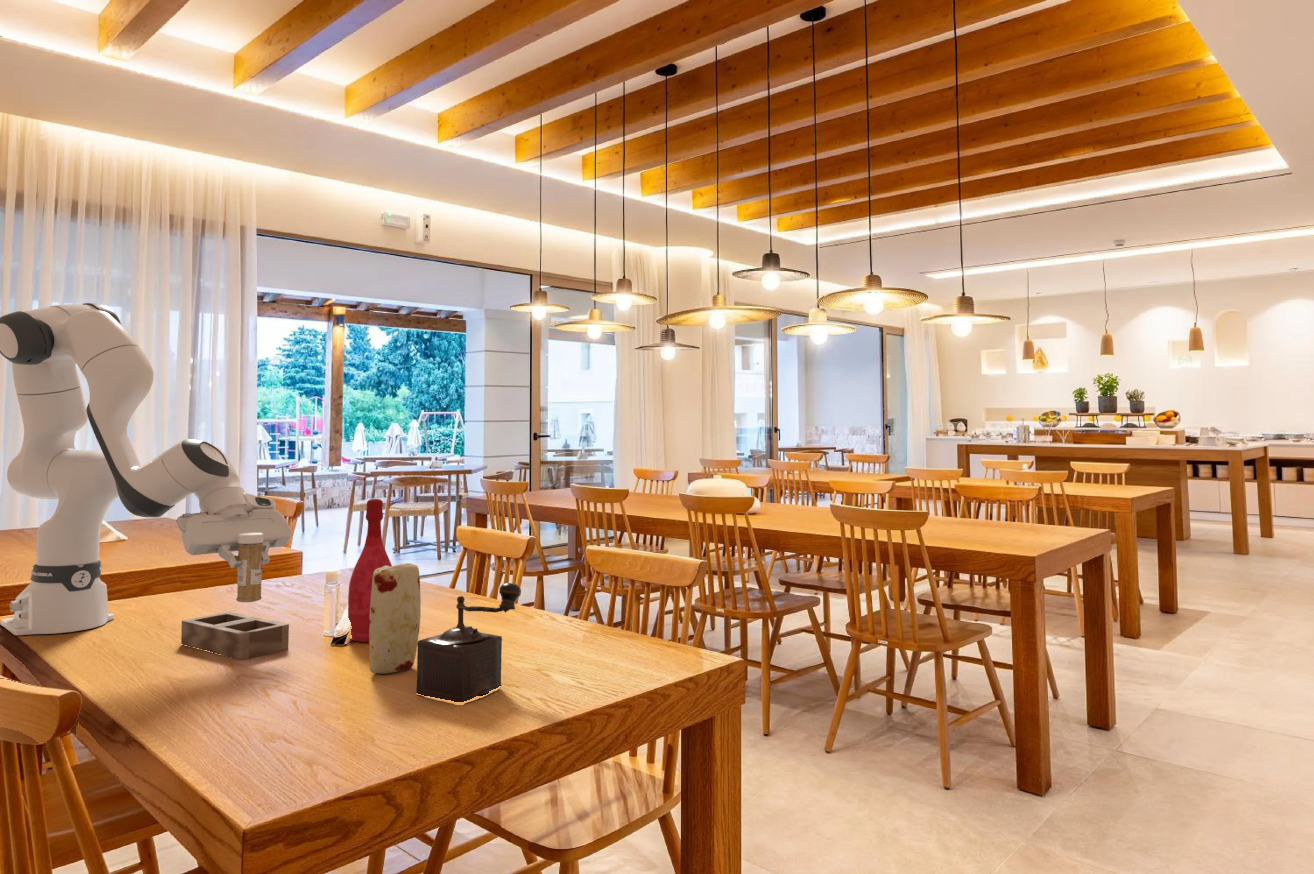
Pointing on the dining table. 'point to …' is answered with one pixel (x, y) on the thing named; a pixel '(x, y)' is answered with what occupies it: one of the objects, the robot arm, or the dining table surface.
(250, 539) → the sprinkles bottle
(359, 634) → the wine bottle
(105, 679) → the dining table surface
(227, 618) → the rail
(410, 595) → the food model
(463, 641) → the coffee grinder
